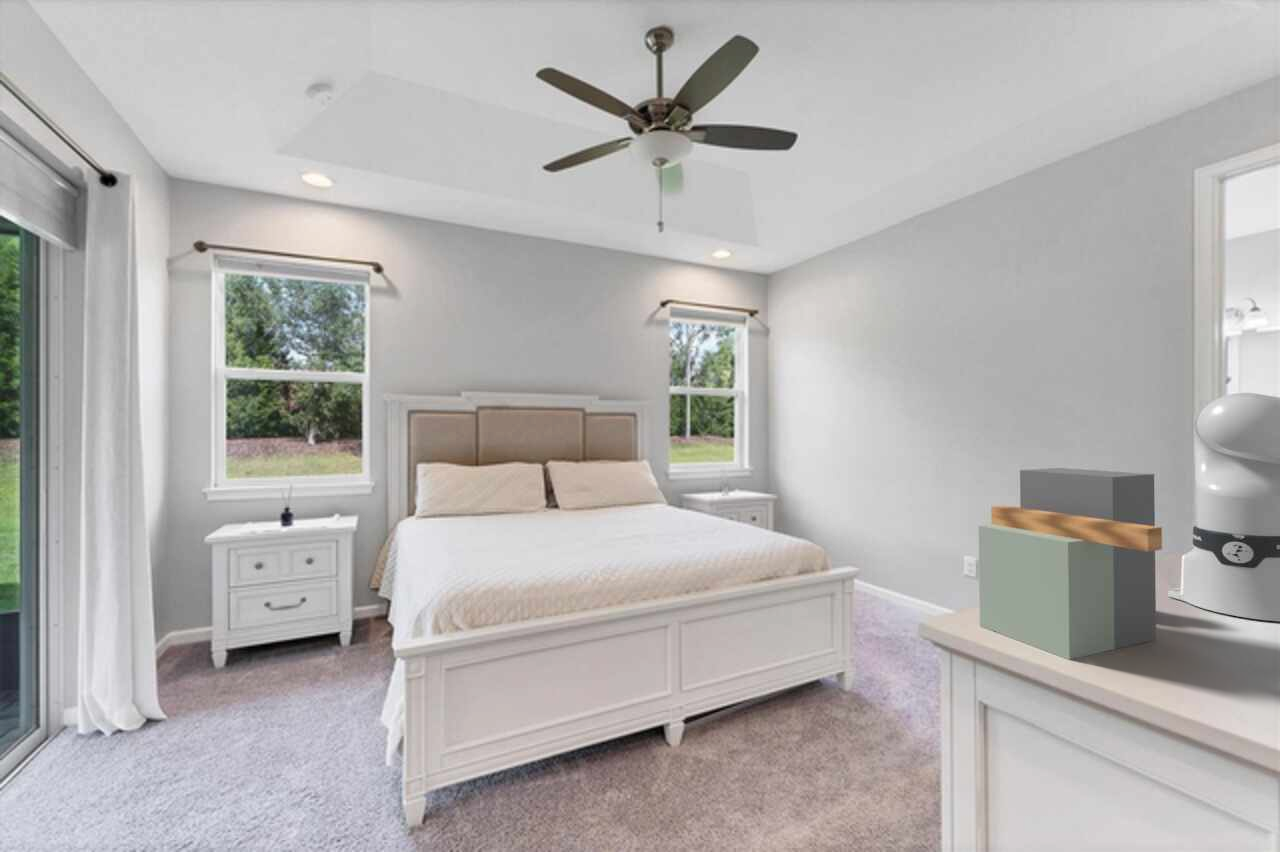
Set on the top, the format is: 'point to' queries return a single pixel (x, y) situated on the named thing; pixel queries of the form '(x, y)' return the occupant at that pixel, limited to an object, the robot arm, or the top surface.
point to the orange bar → (1080, 527)
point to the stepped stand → (1071, 567)
